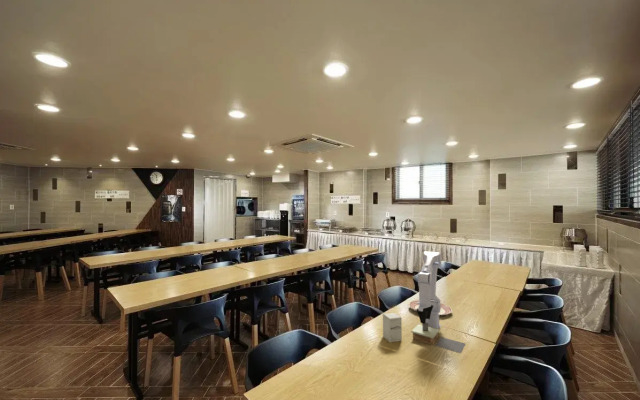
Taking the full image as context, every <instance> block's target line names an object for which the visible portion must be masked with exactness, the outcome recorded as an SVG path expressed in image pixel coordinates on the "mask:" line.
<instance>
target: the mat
mask: <svg viewBox="0 0 640 400" xmlns="http://www.w3.org/2000/svg"><path fill="white" fill-rule="evenodd" d="M434 346H435V347H438V348H440V349H441V348H442V349H444V350H447V351H448V350H449V351H452V352H455V353H458V354H462V351H463V350H464V348H465V346H466V342H461V341H457V340H454V339H450V338H447V337H443V336H440V338H439V339H437V341H436V342H435V343H434Z"/></svg>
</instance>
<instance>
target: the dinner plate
mask: <svg viewBox="0 0 640 400" xmlns="http://www.w3.org/2000/svg"><path fill="white" fill-rule="evenodd" d="M417 302H419V299H418V300H411V301H410V302H409V303H408V306H409V307H410V309H412V310H413V311H416V309H417V308H418V309H419V304H417ZM440 304H441V310H440V312H439V317H440V315H441V316H445V315H446V316H447V315H449V314H451V313H452V312H453V309H452V308H451V307H450V306H449V305H446V304H445V303H441V302H440ZM416 312H417V311H416Z"/></svg>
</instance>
